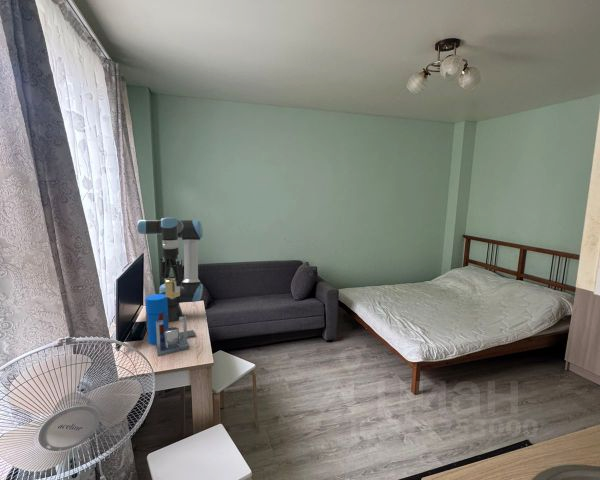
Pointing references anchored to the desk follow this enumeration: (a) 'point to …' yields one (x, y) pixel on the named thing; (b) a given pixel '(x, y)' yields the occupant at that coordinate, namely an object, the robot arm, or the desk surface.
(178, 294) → the brass cap
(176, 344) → the grey metal stand
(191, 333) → the rubber mat
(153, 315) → the thermos
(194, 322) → the desk surface
